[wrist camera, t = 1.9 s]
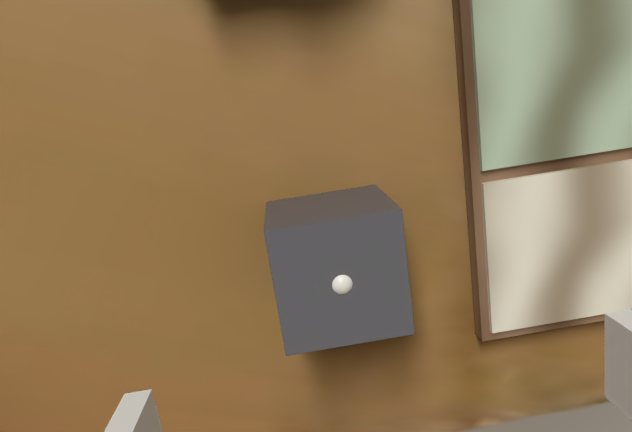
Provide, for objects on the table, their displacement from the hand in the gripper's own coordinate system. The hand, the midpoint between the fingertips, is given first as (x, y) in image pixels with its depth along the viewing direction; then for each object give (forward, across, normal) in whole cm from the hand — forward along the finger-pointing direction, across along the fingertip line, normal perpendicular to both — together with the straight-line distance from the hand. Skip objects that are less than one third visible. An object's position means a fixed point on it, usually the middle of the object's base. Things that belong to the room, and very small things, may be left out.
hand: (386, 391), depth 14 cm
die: (+14, 0, 0) cm, 14 cm away
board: (+14, +13, +8) cm, 21 cm away
